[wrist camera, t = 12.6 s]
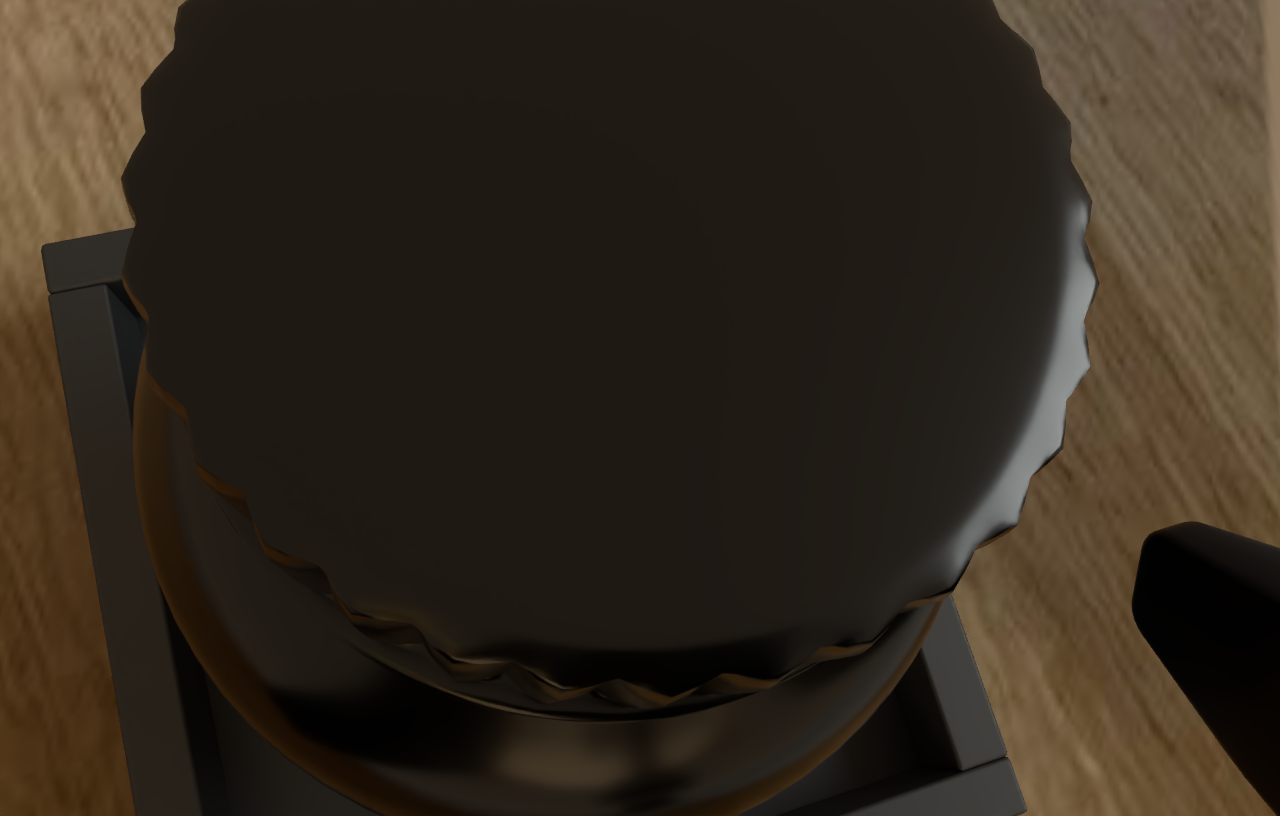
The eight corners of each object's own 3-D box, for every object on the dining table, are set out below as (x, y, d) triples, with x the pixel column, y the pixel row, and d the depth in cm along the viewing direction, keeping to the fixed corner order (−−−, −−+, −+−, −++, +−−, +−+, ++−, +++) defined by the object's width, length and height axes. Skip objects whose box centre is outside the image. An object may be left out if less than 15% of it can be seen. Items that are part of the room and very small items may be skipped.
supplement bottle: (823, 617, 17) (1568, 439, 5) (453, 883, 15) (376, 1485, 3) (591, 274, 18) (796, -497, 6) (217, 483, 16) (-449, -70, 4)
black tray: (964, 798, 17) (1029, 812, 15) (225, 1060, 14) (186, 1118, 12) (749, 166, 19) (780, 105, 17) (88, 296, 17) (37, 243, 15)
